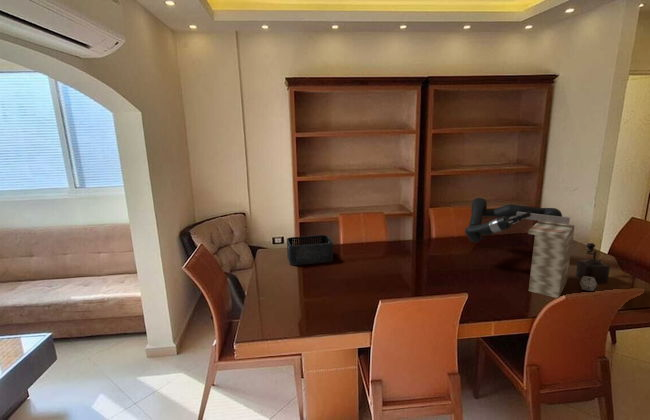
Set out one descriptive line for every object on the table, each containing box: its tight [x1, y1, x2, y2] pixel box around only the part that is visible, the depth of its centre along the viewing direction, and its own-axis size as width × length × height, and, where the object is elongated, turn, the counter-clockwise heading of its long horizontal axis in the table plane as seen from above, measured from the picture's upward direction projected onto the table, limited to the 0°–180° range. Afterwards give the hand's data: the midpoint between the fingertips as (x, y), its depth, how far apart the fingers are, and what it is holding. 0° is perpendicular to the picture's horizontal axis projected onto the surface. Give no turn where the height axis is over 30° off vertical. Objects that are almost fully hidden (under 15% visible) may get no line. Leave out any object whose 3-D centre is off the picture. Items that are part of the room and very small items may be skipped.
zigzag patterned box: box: [527, 221, 576, 299], centre depth 181 cm, size 16×24×32 cm, turn 138°
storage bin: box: [286, 234, 334, 266], centre depth 230 cm, size 29×19×13 cm
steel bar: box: [516, 212, 571, 225], centre depth 185 cm, size 24×3×3 cm, turn 48°
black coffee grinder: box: [575, 242, 611, 284], centre depth 191 cm, size 16×11×18 cm
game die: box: [577, 274, 600, 292], centre depth 177 cm, size 9×8×10 cm
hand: (530, 213), depth 188 cm, fingers closed on steel bar, 3 cm apart
